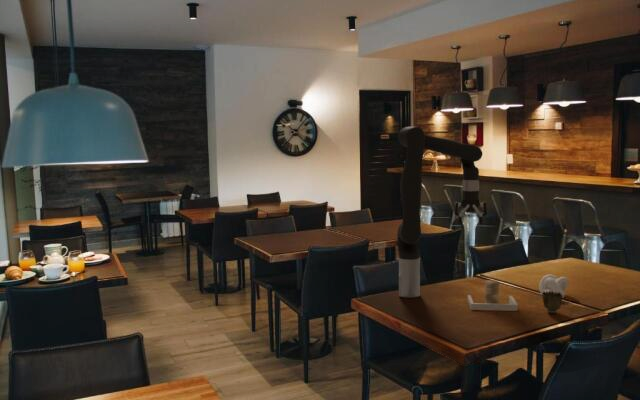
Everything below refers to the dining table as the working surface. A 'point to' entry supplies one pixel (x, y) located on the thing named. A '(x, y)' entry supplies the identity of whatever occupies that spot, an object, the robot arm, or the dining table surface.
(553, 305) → the cup
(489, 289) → the maple block
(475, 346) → the dining table surface
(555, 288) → the white lumpy cloud shape
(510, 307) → the tray
